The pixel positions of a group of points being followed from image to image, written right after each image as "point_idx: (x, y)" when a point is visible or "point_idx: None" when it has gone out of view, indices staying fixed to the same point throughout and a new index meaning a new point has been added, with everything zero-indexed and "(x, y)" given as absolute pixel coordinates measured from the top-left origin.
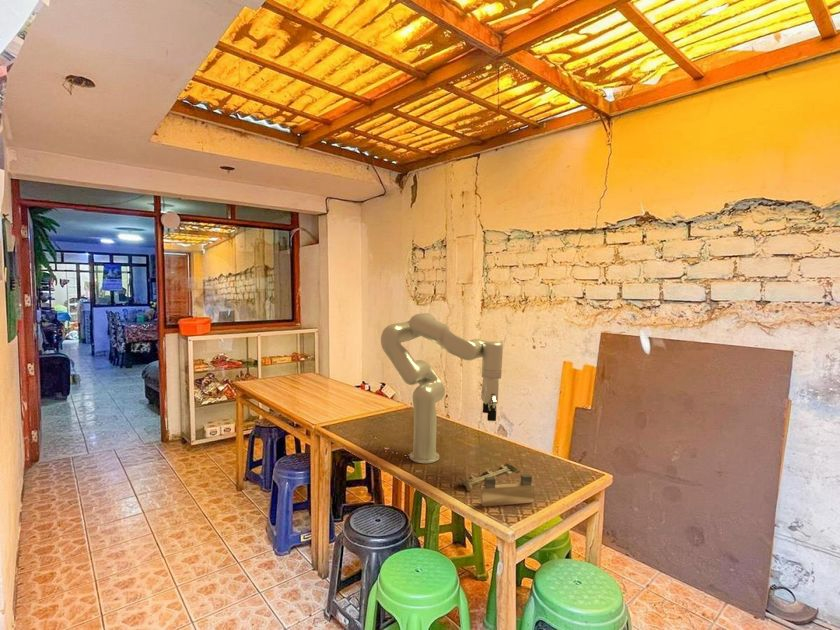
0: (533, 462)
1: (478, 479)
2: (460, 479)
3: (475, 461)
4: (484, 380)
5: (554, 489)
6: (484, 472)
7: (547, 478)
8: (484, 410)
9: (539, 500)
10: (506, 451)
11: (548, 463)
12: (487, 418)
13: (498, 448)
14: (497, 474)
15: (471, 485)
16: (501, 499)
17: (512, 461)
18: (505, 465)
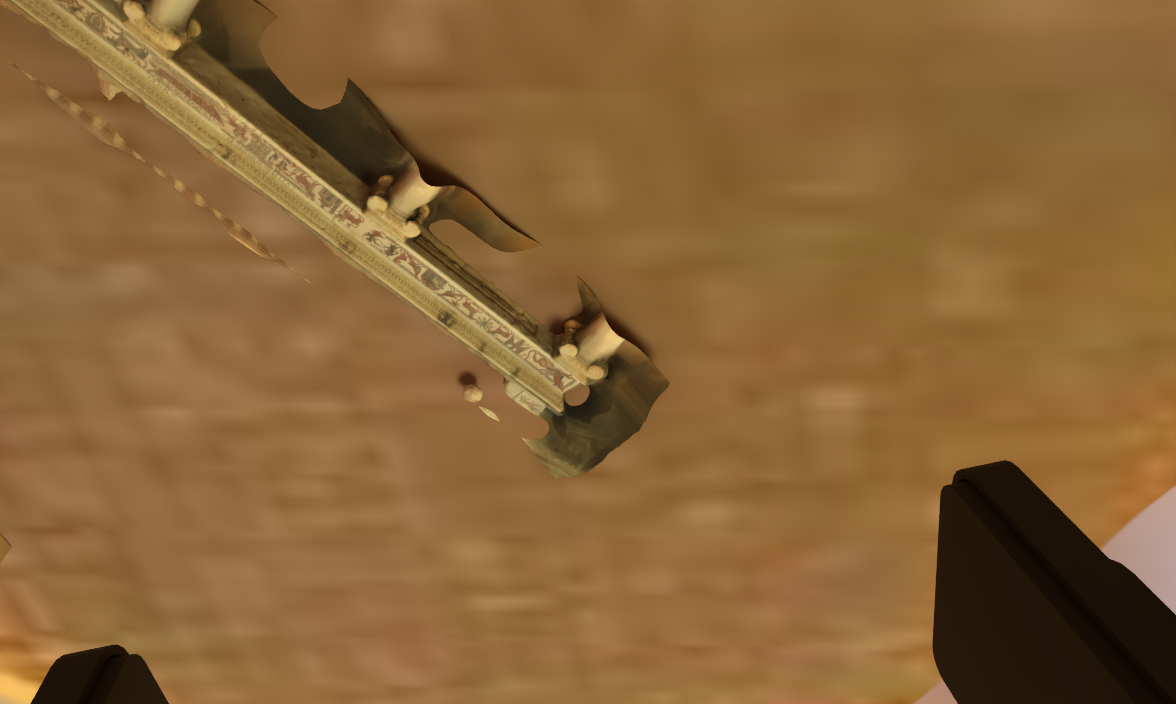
0: (785, 580)
1: (166, 79)
2: None
3: (763, 34)
4: None
5: (284, 697)
6: (399, 150)
7: (477, 662)
8: (986, 562)
9: (27, 603)
10: (1038, 371)
11: (774, 675)
12: (62, 693)
13: (1123, 295)
14: (389, 290)
15: None
16: None
17: (794, 421)
18: (639, 368)
